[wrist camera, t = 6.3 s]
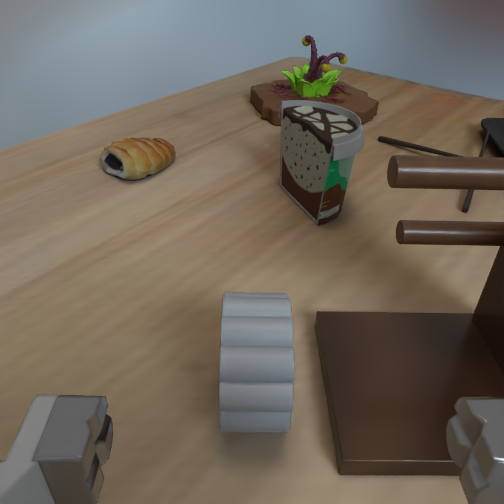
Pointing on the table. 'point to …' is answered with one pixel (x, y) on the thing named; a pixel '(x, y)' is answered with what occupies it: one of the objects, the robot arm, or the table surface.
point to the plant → (312, 89)
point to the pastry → (137, 157)
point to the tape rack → (416, 344)
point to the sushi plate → (498, 131)
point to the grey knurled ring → (256, 363)
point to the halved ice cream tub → (318, 155)
